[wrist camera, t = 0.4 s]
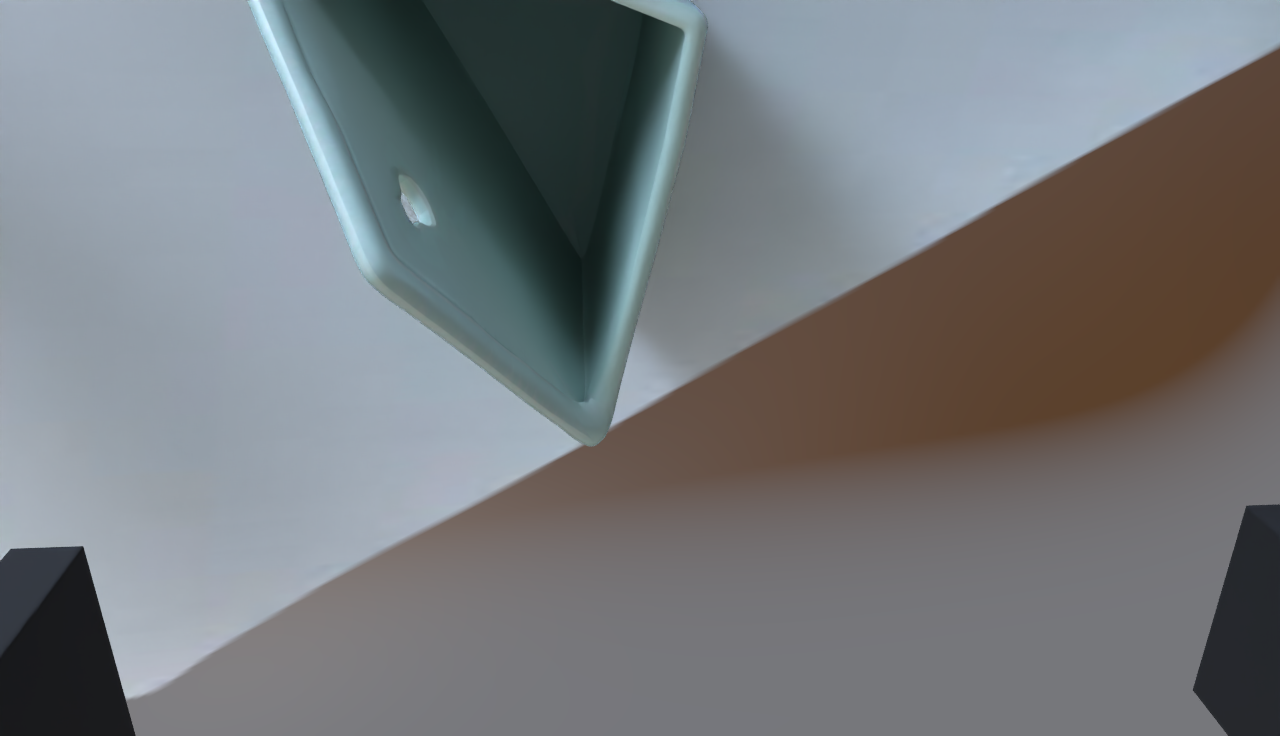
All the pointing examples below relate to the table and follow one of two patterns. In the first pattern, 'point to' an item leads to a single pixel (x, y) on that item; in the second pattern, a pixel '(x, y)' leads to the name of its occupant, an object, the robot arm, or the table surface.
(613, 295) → the planter
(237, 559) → the table surface
